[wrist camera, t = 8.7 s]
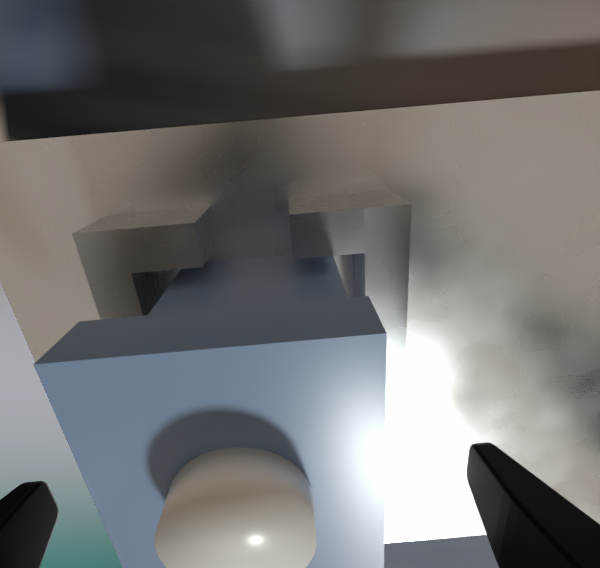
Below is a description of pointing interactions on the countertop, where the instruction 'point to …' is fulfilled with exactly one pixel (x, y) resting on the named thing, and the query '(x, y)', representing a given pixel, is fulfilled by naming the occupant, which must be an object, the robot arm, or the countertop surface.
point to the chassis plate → (360, 264)
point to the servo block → (232, 419)
